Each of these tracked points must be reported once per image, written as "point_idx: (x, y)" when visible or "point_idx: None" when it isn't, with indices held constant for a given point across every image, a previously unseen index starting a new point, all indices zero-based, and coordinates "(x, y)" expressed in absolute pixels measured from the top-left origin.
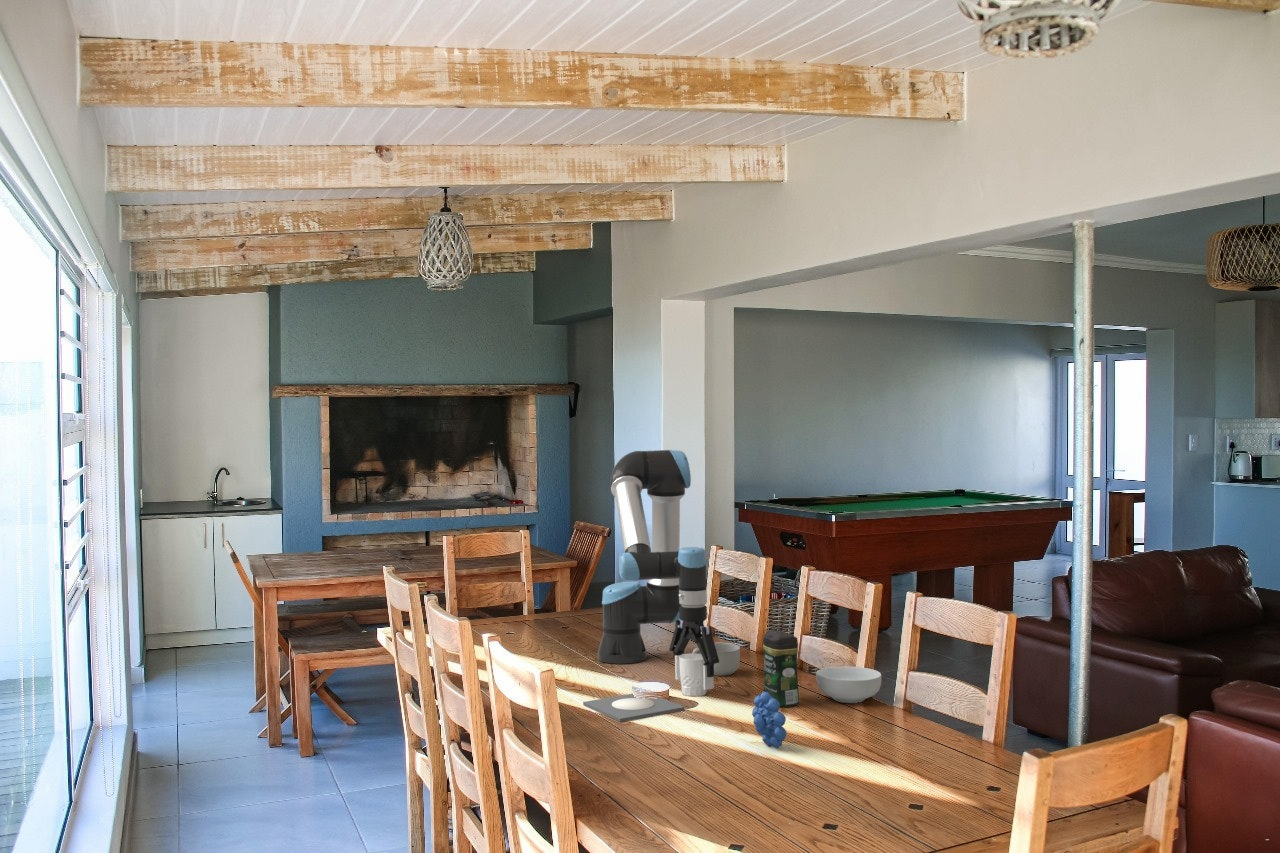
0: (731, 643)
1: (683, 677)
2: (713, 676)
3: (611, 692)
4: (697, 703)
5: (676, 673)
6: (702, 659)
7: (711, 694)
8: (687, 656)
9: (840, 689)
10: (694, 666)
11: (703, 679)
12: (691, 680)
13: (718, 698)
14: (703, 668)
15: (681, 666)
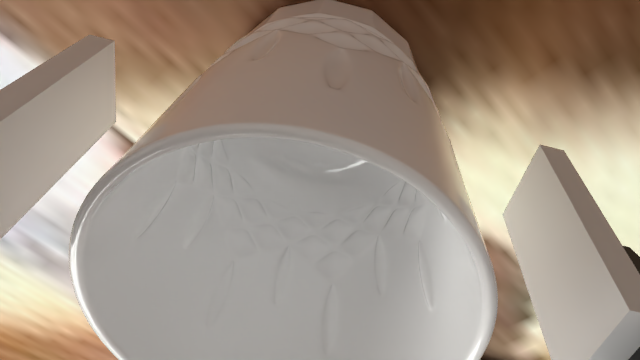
0: None
1: (299, 269)
2: (631, 251)
3: (8, 336)
4: (509, 256)
5: (84, 146)
6: (484, 351)
7: (456, 33)
8: (103, 231)
9: None
10: (409, 340)
11: (522, 270)
12: (374, 245)
13: (575, 90)
14: (553, 354)
15: (261, 343)
